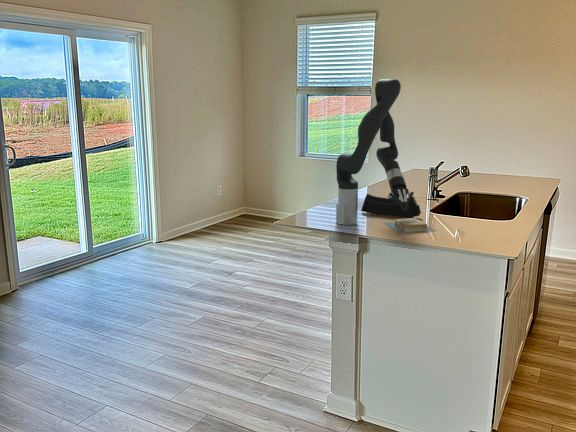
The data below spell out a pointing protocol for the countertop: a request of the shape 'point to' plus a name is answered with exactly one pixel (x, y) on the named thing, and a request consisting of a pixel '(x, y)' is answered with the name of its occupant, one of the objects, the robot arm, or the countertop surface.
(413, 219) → the oak tile
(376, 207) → the magazine
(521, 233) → the countertop surface
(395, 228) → the rubber mat
